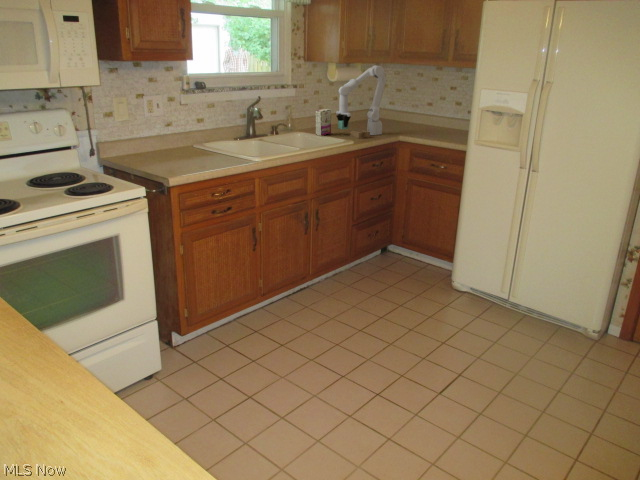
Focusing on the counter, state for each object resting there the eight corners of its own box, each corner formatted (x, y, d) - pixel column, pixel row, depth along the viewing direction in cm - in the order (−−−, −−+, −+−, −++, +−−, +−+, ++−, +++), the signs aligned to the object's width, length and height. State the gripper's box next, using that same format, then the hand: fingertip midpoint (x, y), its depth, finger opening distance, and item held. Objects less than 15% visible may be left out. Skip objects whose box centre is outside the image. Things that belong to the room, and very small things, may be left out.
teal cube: (344, 127, 358) (344, 120, 357) (348, 128, 354) (348, 121, 353) (338, 128, 356) (338, 120, 354) (342, 129, 352) (342, 121, 350)
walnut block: (361, 136, 355) (361, 130, 353) (369, 138, 348) (369, 131, 346) (350, 137, 350) (350, 131, 349) (358, 139, 343) (358, 133, 342)
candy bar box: (325, 133, 362) (325, 108, 356) (331, 134, 359) (331, 109, 353) (315, 135, 354) (315, 110, 348) (321, 136, 351) (321, 110, 345)
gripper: (332, 104, 354) (332, 125, 359) (344, 106, 342) (344, 128, 347) (341, 104, 357) (341, 124, 362) (353, 106, 345) (353, 127, 350)
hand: (343, 126), depth 355 cm, fingers closed on teal cube, 5 cm apart
